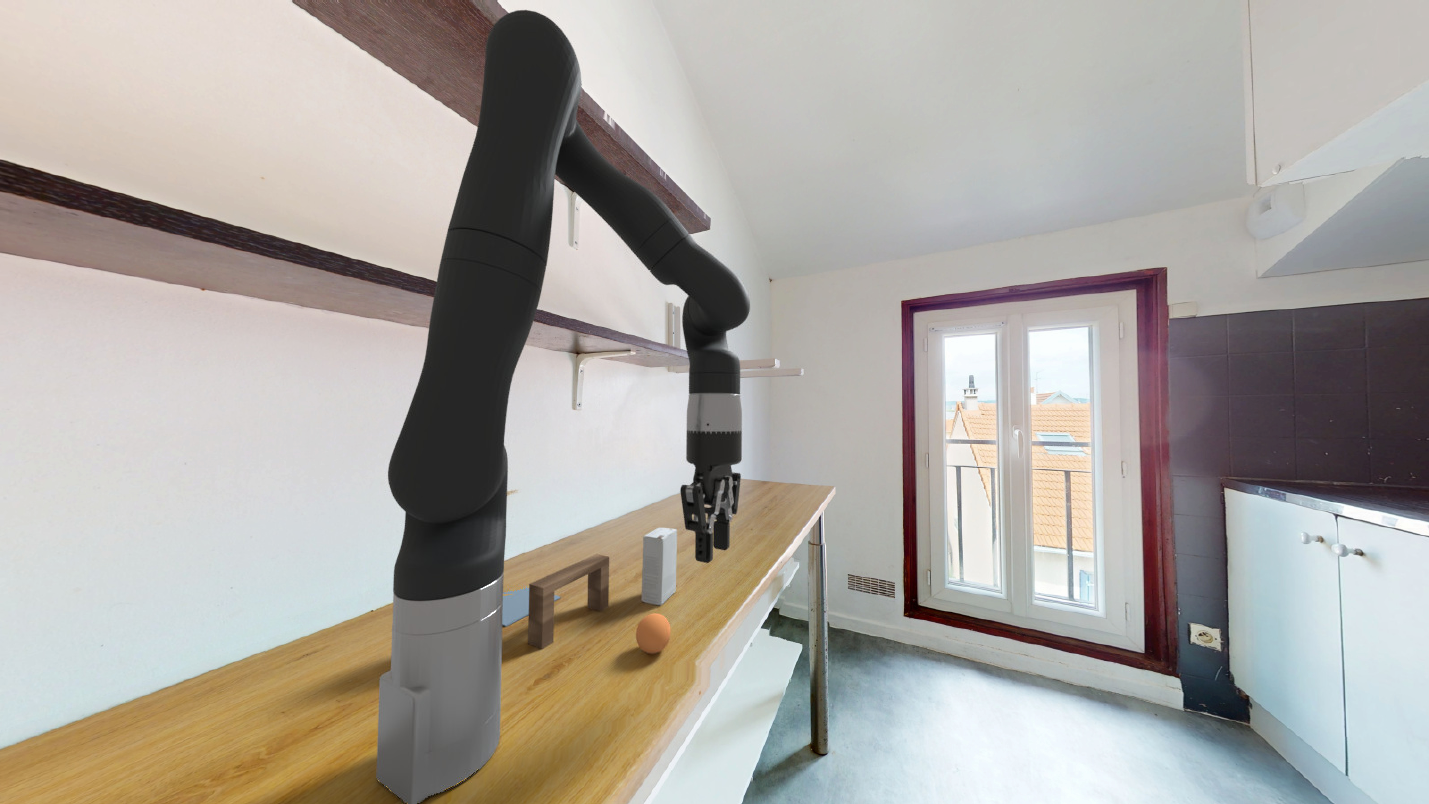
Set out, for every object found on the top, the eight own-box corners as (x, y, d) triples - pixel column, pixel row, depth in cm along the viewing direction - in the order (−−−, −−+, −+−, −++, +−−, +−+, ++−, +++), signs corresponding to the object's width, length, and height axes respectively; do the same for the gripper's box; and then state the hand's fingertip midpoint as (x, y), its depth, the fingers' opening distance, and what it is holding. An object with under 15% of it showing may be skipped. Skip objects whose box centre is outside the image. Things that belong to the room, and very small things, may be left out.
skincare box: (656, 588, 76) (657, 526, 77) (677, 592, 75) (678, 528, 75) (640, 603, 70) (641, 535, 71) (662, 607, 69) (663, 538, 69)
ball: (657, 665, 53) (658, 628, 53) (628, 655, 55) (628, 619, 55) (677, 646, 57) (677, 611, 58) (649, 637, 60) (649, 604, 60)
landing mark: (505, 626, 62) (506, 625, 62) (463, 610, 67) (463, 609, 67) (560, 597, 72) (560, 596, 72) (520, 585, 77) (520, 584, 77)
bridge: (608, 606, 69) (609, 556, 69) (542, 649, 56) (543, 588, 57) (595, 602, 70) (596, 553, 71) (527, 643, 58) (529, 584, 58)
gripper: (715, 430, 45) (714, 580, 45) (758, 427, 58) (757, 543, 57) (661, 428, 48) (659, 568, 48) (712, 426, 61) (711, 536, 61)
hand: (713, 554), depth 53 cm, fingers open, 4 cm apart
